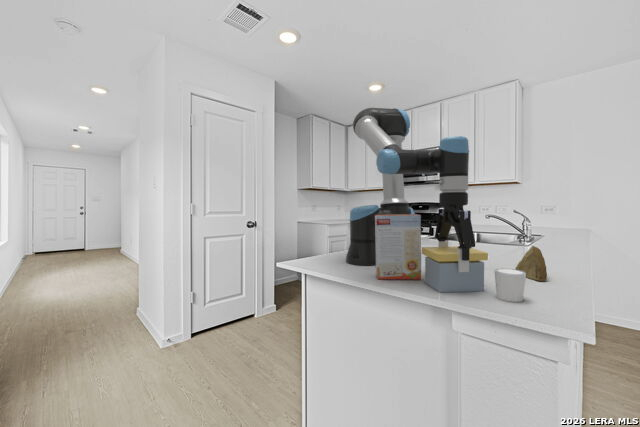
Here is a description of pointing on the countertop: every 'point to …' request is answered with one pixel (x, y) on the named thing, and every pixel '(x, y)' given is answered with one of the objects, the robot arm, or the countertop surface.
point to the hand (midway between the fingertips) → (452, 266)
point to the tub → (454, 276)
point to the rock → (533, 264)
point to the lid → (452, 254)
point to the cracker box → (398, 246)
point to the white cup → (510, 284)
